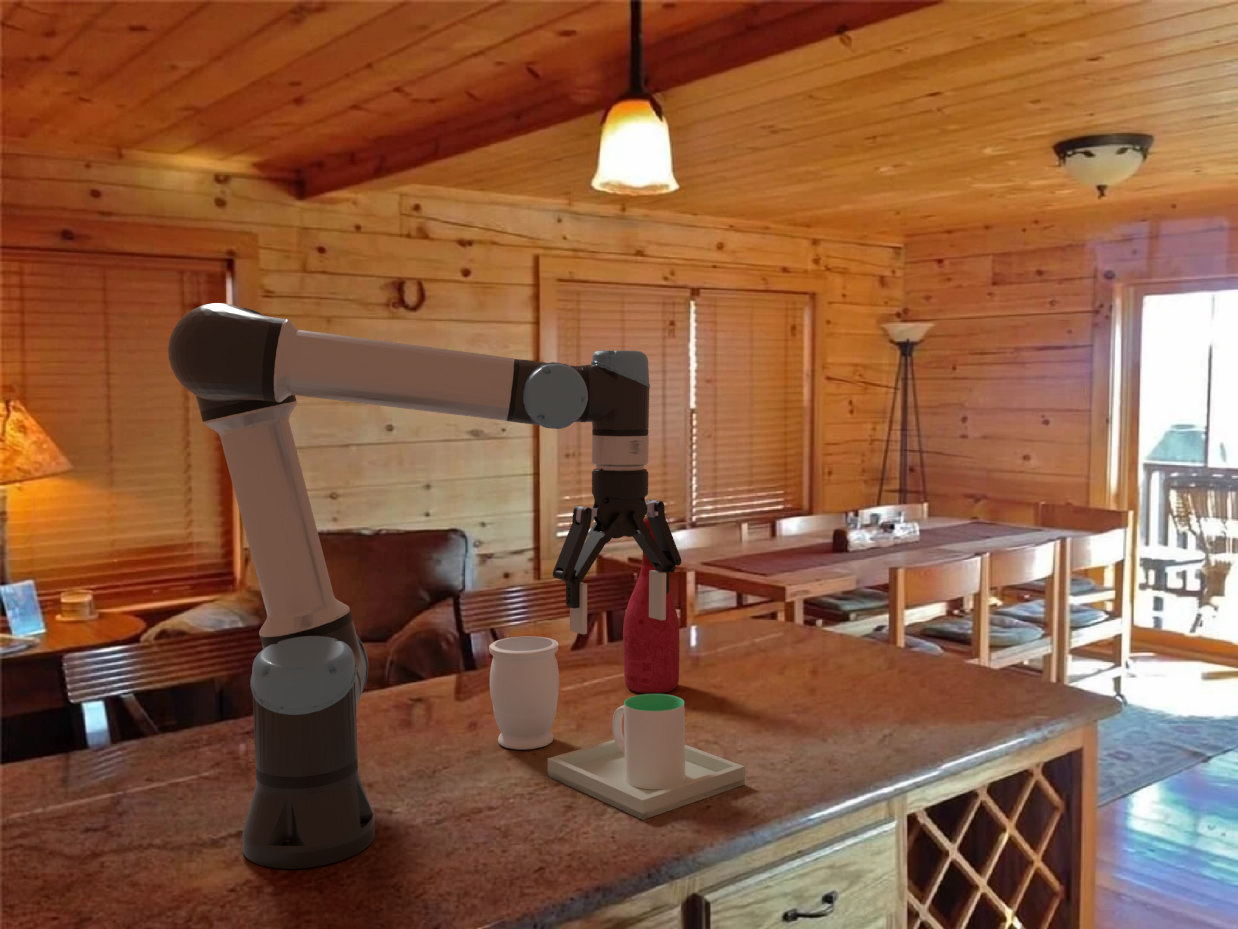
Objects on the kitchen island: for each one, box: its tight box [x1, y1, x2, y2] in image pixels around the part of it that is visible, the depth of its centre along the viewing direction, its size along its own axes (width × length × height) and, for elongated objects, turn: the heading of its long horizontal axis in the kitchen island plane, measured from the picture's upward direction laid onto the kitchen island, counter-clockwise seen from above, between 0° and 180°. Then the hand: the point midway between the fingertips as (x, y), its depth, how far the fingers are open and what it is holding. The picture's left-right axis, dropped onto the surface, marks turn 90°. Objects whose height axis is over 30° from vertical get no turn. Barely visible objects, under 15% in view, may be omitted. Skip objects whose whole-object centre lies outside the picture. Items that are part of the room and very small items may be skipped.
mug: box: [611, 693, 686, 789], centre depth 150 cm, size 12×8×10 cm
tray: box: [547, 737, 746, 821], centre depth 151 cm, size 18×20×2 cm
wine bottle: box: [622, 517, 681, 694], centre depth 194 cm, size 10×10×30 cm
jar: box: [488, 635, 560, 751], centre depth 167 cm, size 11×10×15 cm
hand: (618, 625), depth 149 cm, fingers open, 13 cm apart
